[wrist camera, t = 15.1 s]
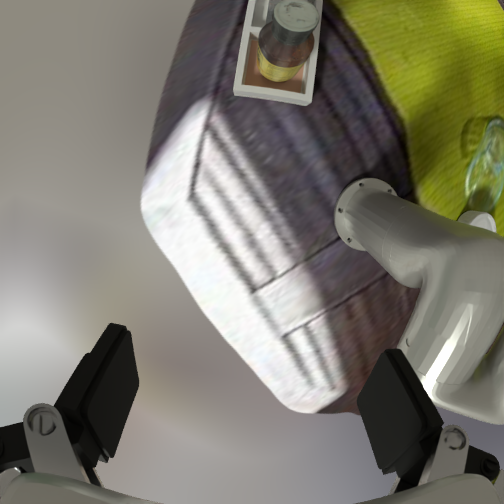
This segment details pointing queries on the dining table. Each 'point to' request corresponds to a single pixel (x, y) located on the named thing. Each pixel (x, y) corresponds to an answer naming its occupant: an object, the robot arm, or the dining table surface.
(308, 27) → the sauce bottle
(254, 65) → the divided bay tray
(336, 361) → the dining table surface
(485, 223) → the ramekin
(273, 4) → the grey metal block
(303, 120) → the dining table surface
